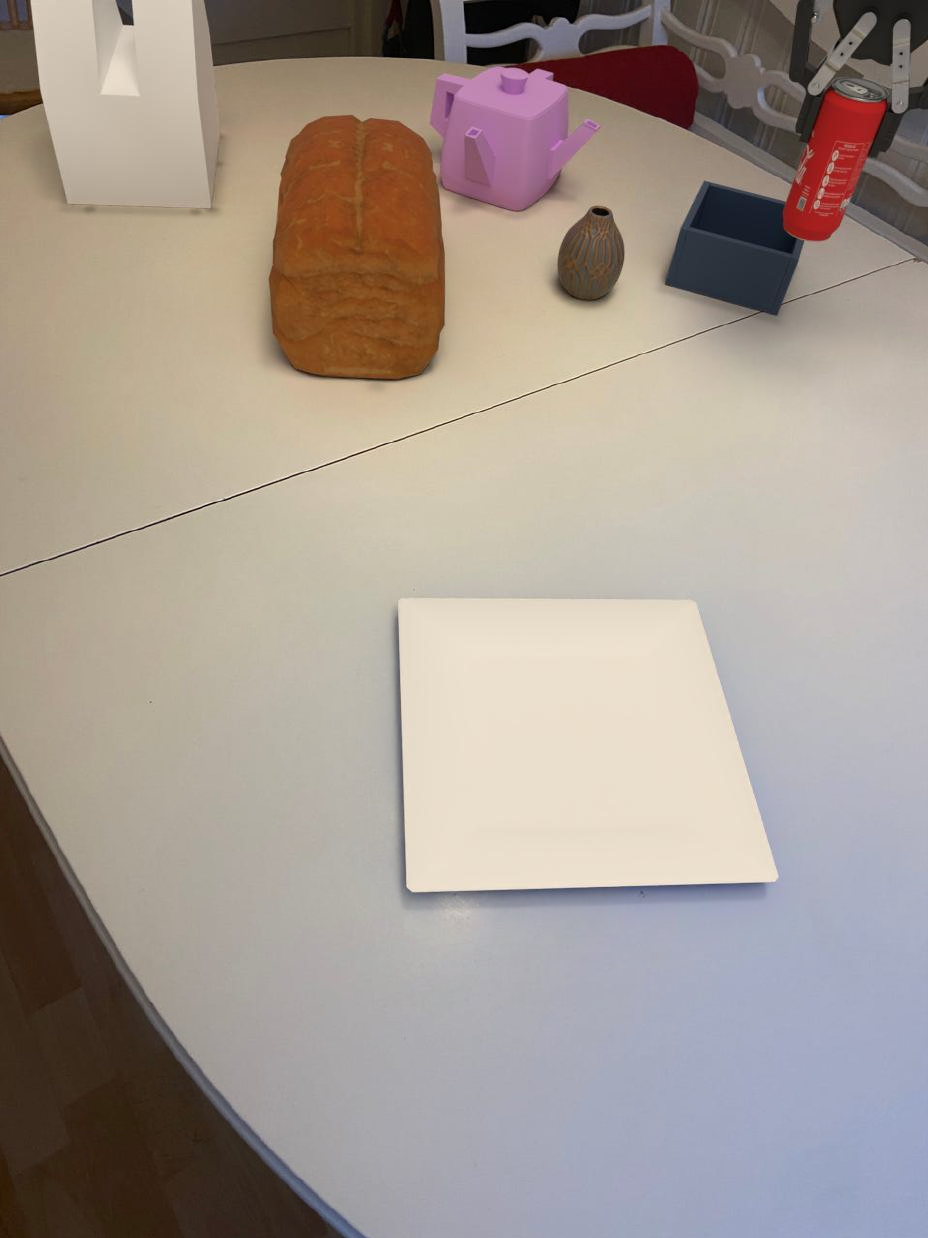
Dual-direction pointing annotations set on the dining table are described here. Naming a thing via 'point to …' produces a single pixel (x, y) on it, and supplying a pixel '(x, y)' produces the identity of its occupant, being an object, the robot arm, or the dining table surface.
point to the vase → (591, 255)
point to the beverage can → (834, 157)
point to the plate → (569, 748)
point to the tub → (735, 249)
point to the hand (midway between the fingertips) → (838, 145)
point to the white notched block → (129, 101)
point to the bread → (358, 251)
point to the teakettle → (504, 134)
